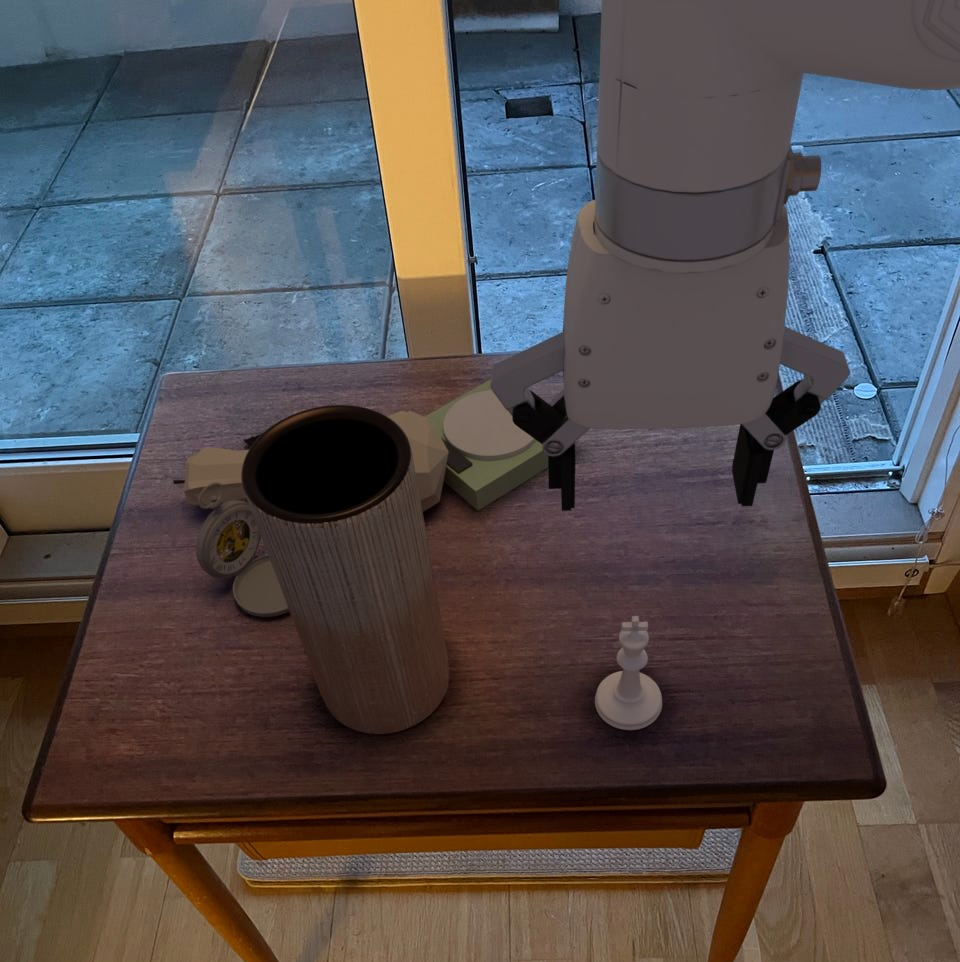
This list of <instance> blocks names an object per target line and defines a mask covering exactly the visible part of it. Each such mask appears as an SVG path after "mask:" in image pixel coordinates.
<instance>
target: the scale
mask: <svg viewBox="0 0 960 962" xmlns="http://www.w3.org/2000/svg"><path fill="white" fill-rule="evenodd" d="M424 417H426V418H427V419H428V421H429V422H430V423H431V424H432V425H433V426H434V427H435V428H436V430H437V431H438V433H439V435H440V437H441V439H442V441H443V442H444V444H445V446H446V448H447V450H448V452H449V453H448V459H447V464H446V469H445V475H444V480H443V483H445V484H446V485H447V486H448V487H450V488H451V490H453V492H455V493H457V495H458V496H459V497H461V498H462V499H463V500H464V501H466V502H467V503H468V504H469V505H470V506H472V508H474V509H475V510H476V511H480V510H482V509H483V508H485V507H487V506H489V505H490V504H491V503H493V502H494V501H496V500H498V499H499V498H501V497H503V496H504V495H506V494H508V493H509V492H511V491H512V490H514V489H516V488H517V487H519V486H520V485H522V484H523V483H525V482H527V481H528V480H530V479H532V478H533V477H535V476H536V475H538V474H539V473H541V472H543V471H544V470H547V469H548V455H546V454H545V453H544V451H543V448H542V444H541V443H540V442H538V441H537V440H535V439H534V438H533V437H531V436H530V435H528V434H527V433H526V432H524V431H523V430H522V429H520V428H519V427H517V426H516V425H515V424H514V423H513V419H512V415H511V414H510V413H509V411H508V410H506V409H505V408H504V406H503V405H502V403H501V402H500V401H499V399H498V398H497V397H496V395H495V394H494V392H493V391H492V389H491V378H490V379H488V380H486V381H484V382H483V383H481V384H480V385H478V386H476V387H474V388H471V390H469V391H467V392H465V393H463V394H462V395H460V396H459V397H457V398H455V399H453V400H451V401H450V402H447V403H446V404H444V405H443V406H440V407H439V408H437V409H435V410H434V411H432V412H429V413H428V414H427V415H425V416H424Z"/></svg>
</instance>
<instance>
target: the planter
mask: <svg viewBox="0 0 960 962" xmlns="http://www.w3.org/2000/svg"><path fill="white" fill-rule="evenodd" d="M387 416H388V415H386V414H384V413H381V412H379V411H377V410H374V409H371V408H368V407H364V406H358V405H351V404H330V405H322V406H316V407H311V408H307V409H305V410H301V411H299V412H295V413H294V414H291V415H288V416H287V417H285V418H283V419H281V420H279V421H278V422H276V423H275V424H273V425H271V426H270V427H268V428H267V429H266V430H265V431H263V432H262V433H263V434H262V435H261V434H260V435H261V436H260V437H259V438H258V439H257V440H256V441H255V442H254V443H253V445H252V446H251V448H250V447H249V449H248V450H249V451H248V453H247V455H246V457H245V459H244V462H243V466H242V472H241V480H242V486H243V489H244V492H245V495H246V498H247V500H248V502H247V503H249V506H250V508H251V511H252V514H253V516H254V519H255V522H256V524H257V527H258V530H259V532H260V535H261V540H262V543H263V545H264V548H265V551H266V554H268V556H269V559H270V561H271V564H272V567H273V569H274V572H275V575H276V577H277V580H278V583H279V585H280V588H281V591H282V593H283V596H284V598H285V601H286V604H287V606H288V609H289V612H288V613H289V615H290V617H291V620H292V622H293V625H294V628H295V630H296V633H297V636H298V638H299V640H300V643H301V647H302V648H303V652H304V654H305V657H306V659H307V663H308V665H309V667H310V670H311V672H312V675H313V677H314V681H315V683H316V686H317V688H318V691H319V693H320V696H321V698H322V700H323V702H324V704H325V706H326V708H327V710H328V711H329V713H330V714H331V715H332V716H333V717H334V718H335V720H337V721H338V722H339V723H340V724H342V725H343V726H345V727H347V728H349V729H351V730H355V731H357V732H360V733H364V734H372V735H386V734H387V735H388V734H394V733H397V732H401V731H406V730H407V729H410V728H411V727H414V726H416V725H418V724H419V723H421V722H423V721H424V720H426V719H427V718H428V717H429V716H430V715H432V713H434V712H435V710H437V709H438V707H439V706H440V705H441V703H442V701H443V700H444V697H445V696H446V694H447V691H448V688H449V684H450V663H449V662H450V661H449V655H448V649H447V643H446V639H445V638H446V637H445V632H444V627H443V621H442V616H441V609H440V603H439V599H438V593H437V586H436V581H435V576H434V570H433V564H432V559H431V553H430V548H429V547H430V546H429V542H428V535H427V530H426V524H425V519H424V511H423V512H422V506H421V501H420V495H419V489H418V483H417V478H416V472H415V466H414V461H413V455H412V450H411V446H410V442H409V440H408V438H407V436H406V434H405V433H404V431H403V430H402V429H401V427H400V426H399V425H398V424H397V423H395V422H394V421H393V420H392V419H390V418H389V417H387Z"/></svg>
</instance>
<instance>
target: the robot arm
mask: <svg viewBox="0 0 960 962" xmlns="http://www.w3.org/2000/svg"><path fill="white" fill-rule="evenodd" d="M600 12H601V15H600V16H601V17H600V45H599V47H600V49H599V50H600V51H599V76H598V77H599V79H598V103H597V104H598V105H597V130H596V132H597V133H596V134H597V135H596V163H595V193H594V194H595V196H594V197H595V198H594V199H592V200H590V201H587V203H586V204H584V205H583V206H582V207H581V209H580V210H579V211H578V214H577V218H576V221H575V225H574V230H573V233H572V238H571V245H570V251H569V255H568V262H567V268H566V269H567V270H566V279H565V289H564V292H565V293H564V304H563V319H562V332H560V333H557V334H555V335H552V336H551V337H549V338H547V339H545V340H543V341H541V342H538V343H536V344H535V345H533V346H530V347H528V348H526V349H524V350H522V351H520V352H518V353H515V354H514V355H512V356H510V357H507V358H506V359H503V360H501V361H499V362H497V363H495V364H494V365H492V368H491V369H490V379H491V389H492V391H493V392H494V394H495V395H496V397H497V398H498V399H499V401H500V402H501V403H502V405H503V406H504V408H505V409H506V410H508V411H509V413H510V414H511V415H512V419H513V423H514V424H515V425H516V426H517V427H519V428H520V429H522V430H523V431H524V432H526V433H527V434H528V435H530V436H531V437H533V438H534V439H535V440H537V441H538V442H540V443H541V444H542V448H543V451H544V453H545V454H546V455H548V468H547V469H548V470H547V471H548V490H559V489H560V498H561V500H560V501H561V502H560V503H561V511H562V512H570V511H572V509H575V508H576V507H575V506H576V505H575V504H576V503H575V502H576V442H577V441H579V439H581V438H582V436H583V435H585V434H586V433H587V432H588V431H589V430H590V429H592V430H593V429H594V430H648V429H649V430H651V429H653V430H654V429H682V428H683V429H684V428H685V429H687V428H709V427H710V428H711V427H727V426H737V425H739V428H738V433H737V439H736V443H735V448H734V454H733V459H732V465H731V474H732V479H733V485H734V490H735V494H736V500H737V504H738V505H741V507H752V506H753V504H754V500H755V496H756V492H757V488H758V484H766V483H767V481H768V477H769V473H770V469H771V465H772V461H773V456H774V452H775V450H778V449H780V448H782V446H784V445H785V443H786V440H787V438H786V436H787V435H788V434H789V435H790V433H792V432H793V431H795V430H797V429H798V428H799V427H801V426H802V425H804V424H805V423H807V422H808V421H810V420H811V419H813V418H815V417H816V416H817V415H818V414H819V413H820V412H821V408H822V407H821V406H822V404H823V403H824V401H825V400H826V401H828V400H829V398H830V397H832V395H833V394H834V393H835V392H836V391H837V390H838V389H839V388H840V387H841V386H842V385H843V383H844V382H845V381H846V380H848V378H849V376H850V375H851V374H850V373H851V370H850V367H849V363H848V361H847V358H846V355H845V353H844V351H842V350H840V349H837V348H835V347H832V346H831V345H828V344H826V343H823V342H822V341H819V340H817V339H815V338H812V337H810V336H808V335H806V334H804V333H801V332H799V331H796V330H794V329H792V328H790V327H787V326H786V315H787V306H788V295H789V285H790V284H789V280H790V224H789V214H788V209H787V206H786V205H787V204H788V200H789V198H790V197H796V196H798V195H799V194H800V193H801V192H816V191H817V190H818V187H819V185H820V181H821V175H822V159H821V156H820V154H817V155H803V154H802V152H794V151H793V148H792V146H791V142H792V136H793V131H794V126H795V120H796V115H797V111H798V106H799V105H798V104H799V100H800V94H801V90H802V84H803V78H804V74H808V75H816V76H822V77H828V78H836V79H841V80H847V81H854V82H861V83H865V84H871V85H878V86H884V87H890V88H897V89H905V90H906V89H907V90H917V91H945V90H947V91H948V90H957V89H960V0H601V10H600ZM781 366H783V367H786V368H787V369H790V370H792V371H795V372H797V373H800V374H802V375H803V378H802V379H800V380H797V381H795V382H794V383H793V384H791V385H790V386H788V387H787V388H785V389H784V390H783V391H781V392H780V393H778V394H777V395H775V394H776V393H775V392H776V388H777V383H778V378H779V374H780V373H779V372H780V367H781ZM561 372H562V375H563V389H562V390H561V391H560V392H559V393H558V394H557V395H556V396H555V397H554V398H553V399H552V400H551V401H550V402H549V403H548V402H547V401H546V400H544V398H542V397H541V396H539V395H538V394H537V393H535V392H534V391H532V390H531V389H529V387H531V386H533V385H536V384H537V383H540V382H542V381H544V380H547V379H549V378H551V377H553V376H554V375H557V374H559V373H561Z"/></svg>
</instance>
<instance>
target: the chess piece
mask: <svg viewBox="0 0 960 962" xmlns="http://www.w3.org/2000/svg"><path fill="white" fill-rule="evenodd" d="M648 631H649V622H648V621H640V617H639V615H631V621H622V622H621V630H620V631H619V633H618V642H619V643H620V646H621V648H620V649H619V650H618V652H617V653H616V662H617V664H618V665H619V666H620V668H622V670H619V671H616V672H613V673H611V674H609V675H607V676H605V678H603V680H602V681H601V682H600V683H599V685H598V687H597V689H596V691H595V692H596V693H595V696H594V705H595V709H596V712H597V714H598V715H599V717H600V718H601V719H602V721H604V722H605V723H606V724H608V725H609V726H612V727H613V728H616V729H619V730H624V731H636V730H641V729H645V728H646V727H648V726H650V725H651V724H653V723H654V722H655V721H656V720H657V719H658V717H659V716H660V714H661V712H662V709H663V697H662V693H661V689H660V687H659V685H658V683H656V682H655V680H654V679H652V678H651V677H650V676H648V675H647V674H645V673H643V672H641V671H640V670H642V669H644V668H645V666H646V665H647V664H648V661H649V660H648V659H649V657H648V654H647V652H646V650H645V648H646V647H647V646H648V643H649V641H650V635H649V633H648Z"/></svg>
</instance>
